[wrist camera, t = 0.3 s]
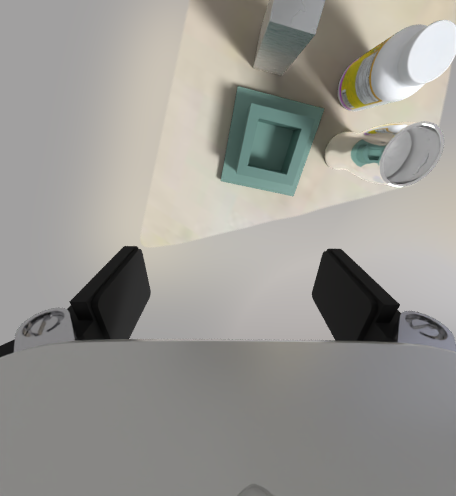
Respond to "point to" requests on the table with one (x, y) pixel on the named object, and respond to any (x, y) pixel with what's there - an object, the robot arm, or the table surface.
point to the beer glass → (388, 152)
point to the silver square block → (286, 33)
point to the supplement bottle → (398, 66)
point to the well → (269, 141)
